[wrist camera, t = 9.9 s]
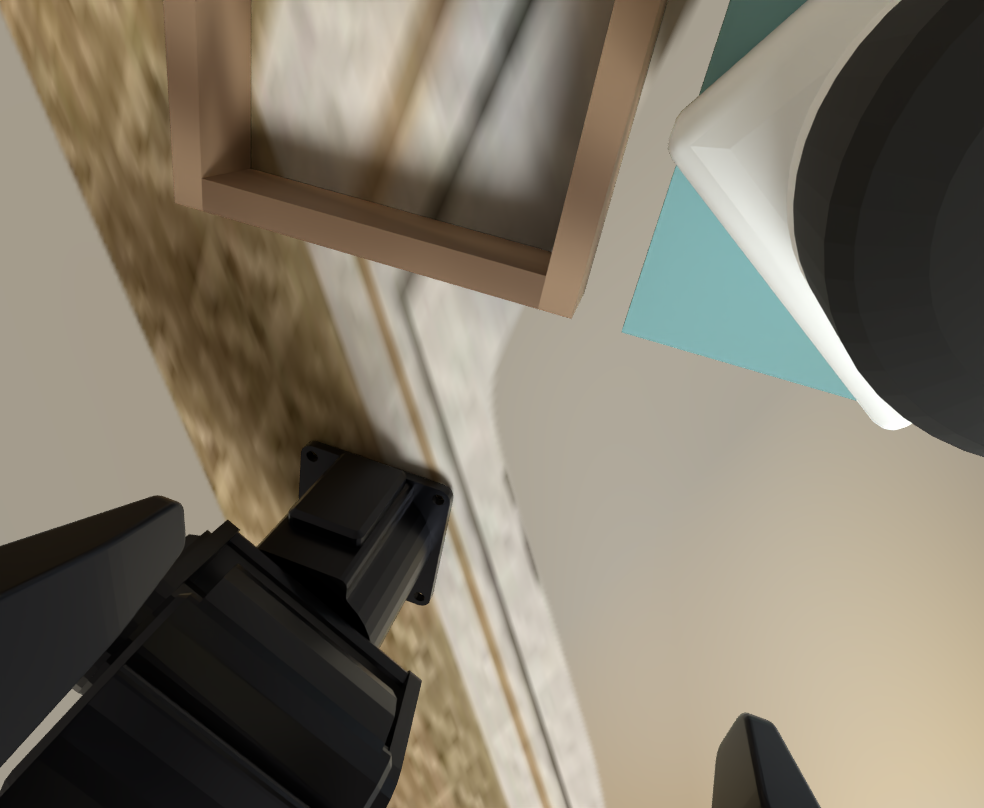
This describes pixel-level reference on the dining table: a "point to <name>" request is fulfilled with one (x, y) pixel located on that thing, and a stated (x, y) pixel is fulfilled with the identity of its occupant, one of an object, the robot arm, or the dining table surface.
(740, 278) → the teal mat
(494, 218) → the dining table surface
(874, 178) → the medicine bottle
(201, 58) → the offcut rack
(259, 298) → the dining table surface
